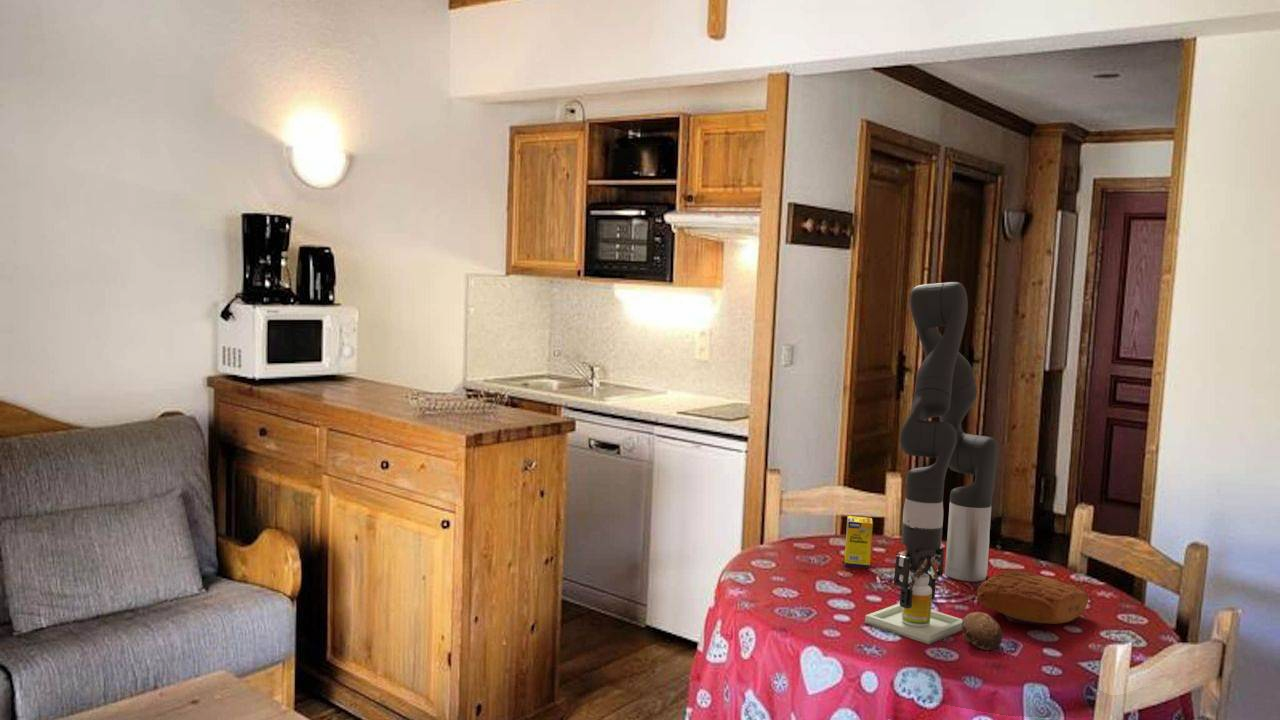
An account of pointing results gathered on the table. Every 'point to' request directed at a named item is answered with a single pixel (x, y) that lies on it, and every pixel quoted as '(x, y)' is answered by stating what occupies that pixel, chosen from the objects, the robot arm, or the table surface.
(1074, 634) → the table surface
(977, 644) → the mushroom
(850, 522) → the supplement box
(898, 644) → the table surface
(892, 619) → the tray
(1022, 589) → the clay tablet
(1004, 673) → the table surface
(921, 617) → the supplement bottle
